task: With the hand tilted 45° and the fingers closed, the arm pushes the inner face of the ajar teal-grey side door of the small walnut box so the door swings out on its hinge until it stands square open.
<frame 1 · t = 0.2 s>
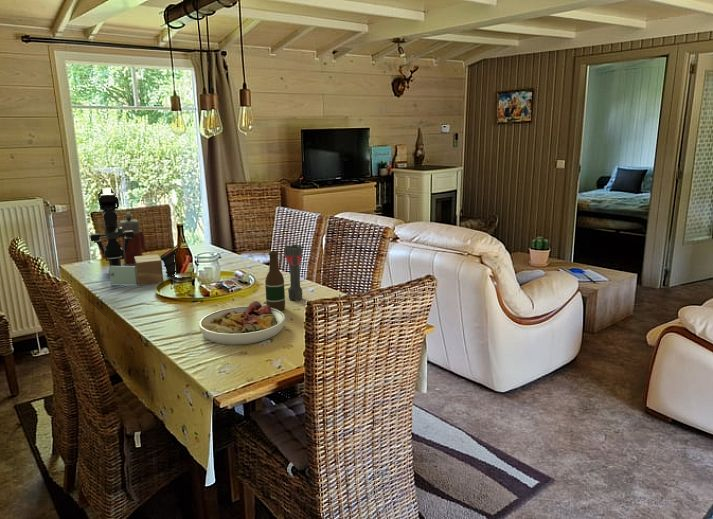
hand: (114, 253, 255), 15 cm above the table, tool pointing down, fingers open, 9 cm apart
toy vending machine: (135, 262, 302), on the table
bowl: (243, 332, 194), on the table
flashlight: (295, 298, 232), on the table
walnut box: (149, 280, 264), on the table
beer bottle: (276, 310, 218), on the table
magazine: (176, 275, 273), on the table
door: (123, 275, 253), point 5 cm above the table, hinge at 58.0°
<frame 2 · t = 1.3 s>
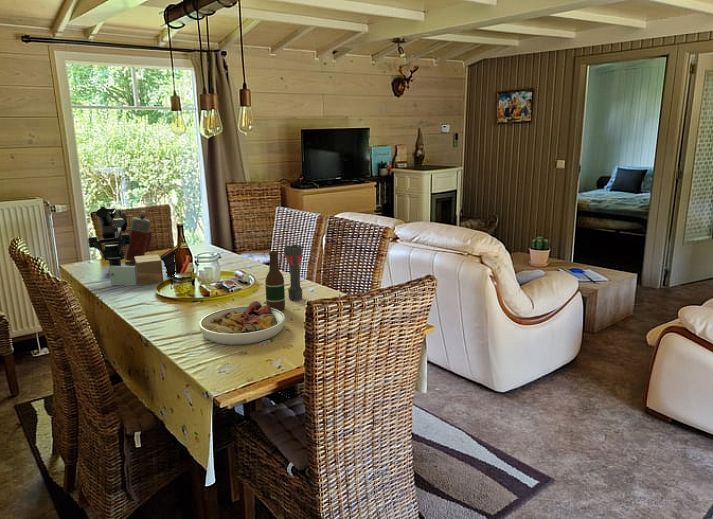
hand: (111, 254, 263), 12 cm above the table, tool tilted 45°, fingers open, 7 cm apart
toy vending machine: (135, 260, 302), point 1 cm above the table
everything else where it was.
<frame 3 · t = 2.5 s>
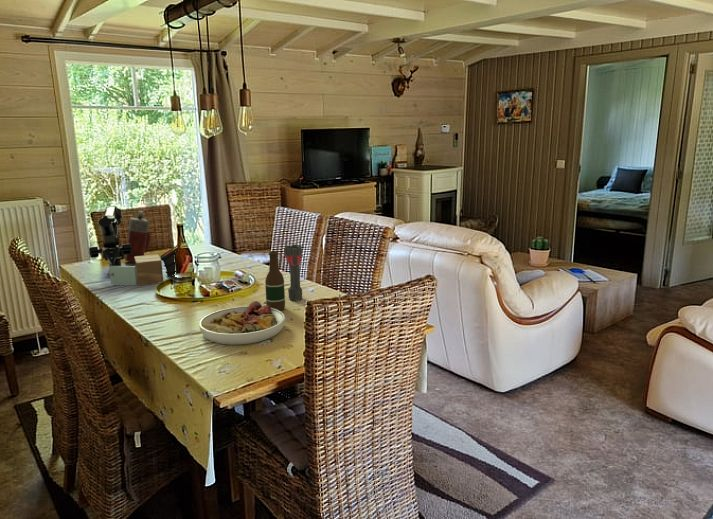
hand: (112, 264, 259), 9 cm above the table, tool tilted 45°, fingers closed
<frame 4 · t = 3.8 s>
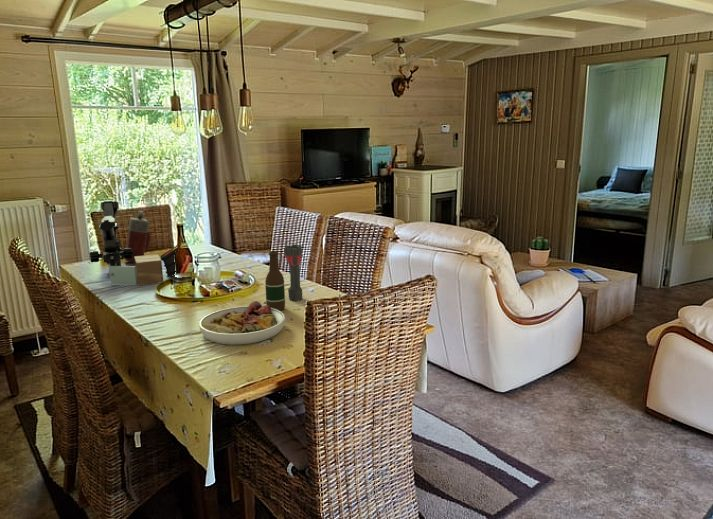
hand: (113, 269, 255), 7 cm above the table, tool tilted 45°, fingers closed
door: (123, 275, 253), point 5 cm above the table, hinge at 58.5°, touching gripper
everything else where it was.
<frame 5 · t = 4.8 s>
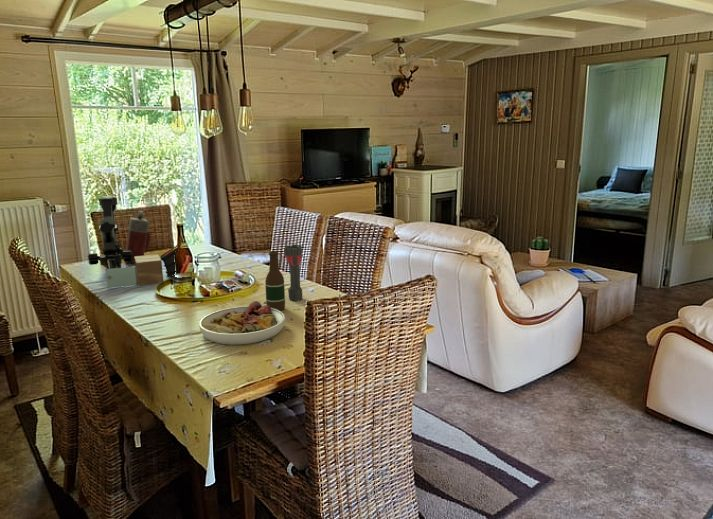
hand: (111, 272, 250), 7 cm above the table, tool tilted 45°, fingers closed, pressing on door
door: (122, 277, 251), point 5 cm above the table, hinge at 85.0°, touching gripper
everything else where it was.
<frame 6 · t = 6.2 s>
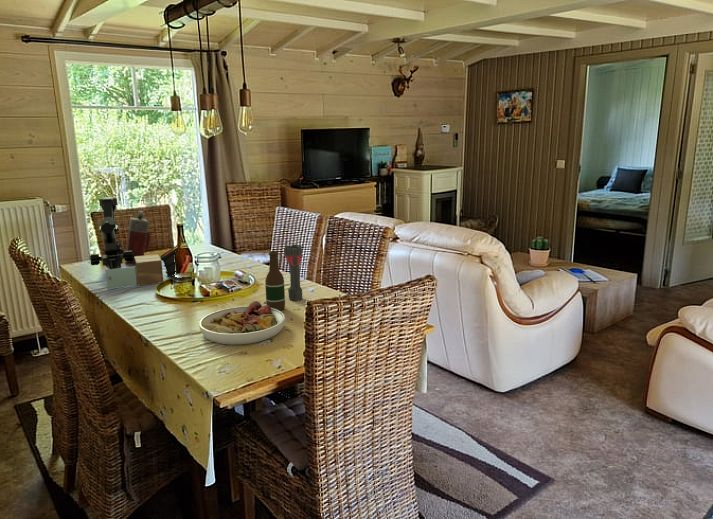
hand: (114, 273, 252), 7 cm above the table, tool tilted 45°, fingers closed
door: (122, 277, 250), point 5 cm above the table, hinge at 92.6°
everything else where it was.
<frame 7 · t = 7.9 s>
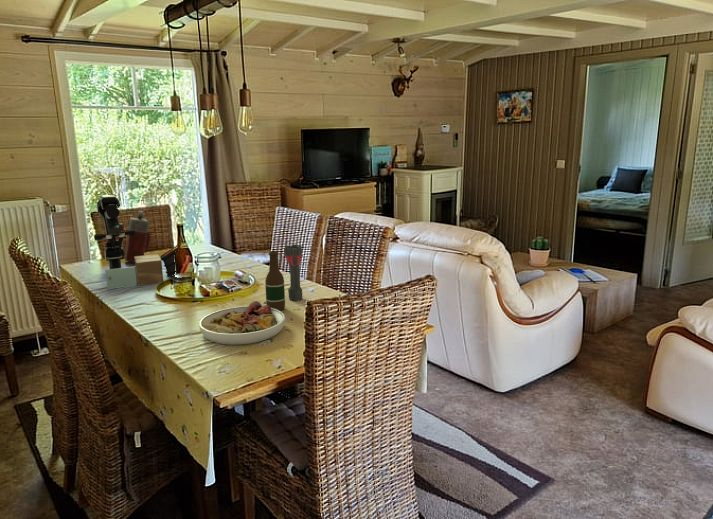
hand: (118, 252, 267), 13 cm above the table, tool pointing down, fingers closed
nothing on the table moved.
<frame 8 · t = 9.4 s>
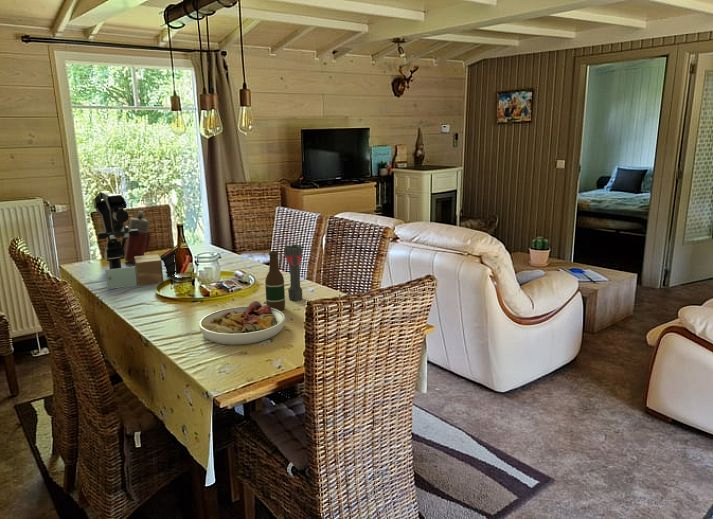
hand: (120, 251, 269), 13 cm above the table, tool pointing down, fingers closed
nothing on the table moved.
at the end: door at +93° (first picture: +58°) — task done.
